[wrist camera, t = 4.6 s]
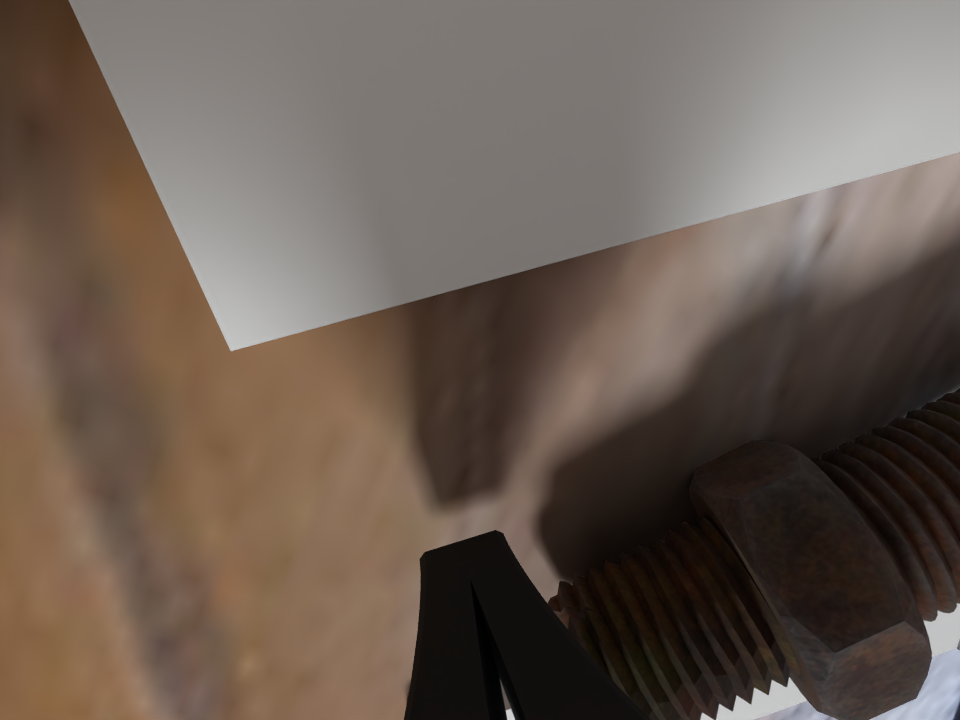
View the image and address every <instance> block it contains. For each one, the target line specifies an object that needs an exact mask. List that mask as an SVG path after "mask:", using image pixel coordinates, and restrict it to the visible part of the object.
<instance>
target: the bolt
mask: <svg viewBox="0 0 960 720" xmlns="http://www.w3.org/2000/svg"><path fill="white" fill-rule="evenodd" d="M689 494H690V497H691V500H692V502H693V505H694V507H695V510H696V512H697V514H698V521H697V527H695V526H692V525H690V524H687V523H684V522H683V525H682V534H678V533H675V532H673V531H670V530H667V535H666V542H664V541H661V540H658V539H656V538H652V539H651V547H650V550H649V549H647V548H644V547H641V546H638V545H636V552H635V557H633V556H630V555H627V554H625V553H622V552H621V558H620V565H619V564H616V563H613V562H610V561H607V560H605V566H604V573H603V572H601V571H598V570H596V569H593V568H591V567H590V570H589V577H588V579H587V578H585V577H583V576H581V575H579V574H575V577H574V583H573V586H572V585H571V584H569V583H567V582H562V581H560V583H559V588H558V595H556V596H554V597H552V598H550V600H549V602H548V605H549V606H550V608H551V609H552V610H553V611H554V613H555V614H556V615H557V616H558V618H559V619H560V620H561V621H562V623H563V624H564V625H565V626H566V628H567V629H568V630H569V631H570V633H571V634H572V635H573V636H574V638H575V639H576V640H577V641H578V642H579V643H580V645H581V646H582V647H583V648H584V649H585V650H586V652H587V653H588V654H589V655H590V656H591V657H592V658H593V659H594V661H595V662H596V663H597V664H598V665H599V666H600V667H601V668H602V669H603V670H604V672H605V673H606V674H607V675H608V676H609V677H610V678H611V679H612V680H613V681H614V682H615V683H616V685H617V686H618V687H619V688H620V689H621V690H622V691H623V692H624V693H625V694H626V695H627V696H628V697H629V698H630V699H631V700H632V701H633V702H634V703H635V704H636V705H637V706H638V707H639V708H640V709H641V710H642V711H643V712H644V713H645V714H646V715H647V716H648V717H649V718H650V719H651V720H700V719H701V715H702V713H704V714H705V715H707V716H709V717H710V718H712V719H713V720H716V718H717V713H718V708H719V704H720V705H722V706H724V707H725V708H727V709H729V710H730V711H732V712H733V709H734V704H735V700H736V696H738V697H740V698H741V699H743V700H745V701H746V702H748V703H749V704H752V698H753V692H754V688H756V689H758V690H759V691H761V692H763V693H765V694H766V695H769V692H770V687H771V682H772V680H773V681H775V682H777V683H779V684H780V685H782V686H784V687H787V686H788V680H789V677H790V678H791V680H792V681H793V683H794V684H795V685H796V687H797V688H798V689H799V691H800V692H801V693H802V695H803V696H804V697H805V698H806V699H807V700H808V702H809V703H810V704H811V705H812V706H813V707H814V708H815V709H816V710H817V711H818V712H821V713H823V714H826V715H829V716H831V717H834V718H836V719H839V720H869V719H871V718H874V717H876V716H878V715H880V714H882V713H885V712H887V711H889V710H891V709H893V708H896V707H898V706H900V705H902V704H905V703H907V702H909V701H911V700H913V699H916V697H917V695H918V693H919V691H920V689H921V687H922V685H923V683H924V681H925V679H926V677H927V675H928V671H929V667H930V663H931V659H932V650H931V645H930V640H929V636H928V633H927V630H926V627H925V624H924V621H929V622H932V621H935V620H936V618H937V616H938V611H940V612H943V613H952V612H954V611H955V609H956V607H957V603H958V604H960V388H959V389H958V390H957V391H955V392H954V393H948V394H945V395H944V396H943V397H941V398H940V399H938V400H937V401H936V402H930V403H926V404H925V405H924V406H923V407H922V408H921V409H920V410H913V411H910V412H908V413H907V415H906V417H905V418H901V417H899V418H896V419H894V420H893V421H891V422H890V423H889V424H887V426H884V427H877V428H874V429H873V431H872V432H871V434H863V435H861V436H859V437H857V438H856V439H855V441H854V443H852V442H849V443H844V444H842V445H841V446H840V447H839V449H838V451H827V452H826V453H824V455H823V457H822V459H821V460H820V459H811V460H810V459H809V458H808V457H806V456H805V455H804V454H803V453H801V452H800V451H799V450H797V449H795V448H793V447H791V446H789V445H787V444H784V443H779V442H773V441H753V440H752V441H750V442H748V443H746V444H744V445H742V446H740V447H738V448H736V449H734V450H732V451H730V452H728V453H726V454H724V455H722V456H720V457H718V458H717V459H715V460H713V461H711V462H709V463H707V464H705V465H703V466H701V467H699V468H697V469H696V470H695V473H694V476H693V478H692V481H691V484H690V488H689Z"/></svg>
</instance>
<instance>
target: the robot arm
mask: <svg viewBox="0 0 960 720" xmlns="http://www.w3.org/2000/svg"><path fill="white" fill-rule="evenodd" d="M420 569H421V592H420V610H419V622H418V633H417V641H416V648H415V656H414V663H413V671H412V678H411V684H410V690H409V696H408V701H407V706H406V711H405V717H404V720H507V715H506V710H505V704H504V699H503V693H502V688H501V683H502V686H503V688H504V691H505V694H506V696H507V699H508V702H509V705H510V707H511V710H512V713H513V715H514V718H515V720H651V719H650V718H649V717H648V716H647V715H646V714H645V713H644V712H643V711H642V710H641V709H640V708H639V707H638V706H637V705H636V704H635V703H634V702H633V701H632V700H631V699H630V698H629V697H628V696H627V695H626V694H625V693H624V692H623V691H622V690H621V689H620V688H619V687H618V686H617V685H616V683H615V682H614V681H613V680H612V679H611V678H610V677H609V676H608V675H607V674H606V673H605V672H604V670H603V669H602V668H601V667H600V666H599V665H598V664H597V663H596V662H595V661H594V659H593V658H592V657H591V656H590V655H589V654H588V653H587V652H586V650H585V649H584V648H583V647H582V646H581V645H580V643H579V642H578V641H577V640H576V639H575V638H574V636H573V635H572V634H571V633H570V631H569V630H568V629H567V628H566V626H565V625H564V624H563V623H562V621H561V620H560V619H559V618H558V616H557V615H556V614H555V613H554V611H553V610H552V609H551V608H550V606H549V605H548V604H547V602H546V601H545V600H544V598H543V597H542V596H541V594H540V593H539V592H538V590H537V589H536V587H535V586H534V585H533V583H532V582H531V580H530V579H529V577H528V576H527V574H526V573H525V571H524V570H523V568H522V567H521V565H520V564H519V562H518V560H517V559H516V557H515V555H514V554H513V552H512V550H511V548H510V546H509V545H508V543H507V541H506V539H505V536H504V534H503V533H501V532H499V531H497V530H494V531H491V532H488V533H485V534H481V535H478V536H475V537H472V538H469V539H465V540H462V541H459V542H456V543H452V544H449V545H446V546H443V547H440V548H436V549H433V550H430V551H427V552H425V553H424V554H423V555H422V557H421V558H420ZM500 680H501V683H500Z"/></svg>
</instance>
